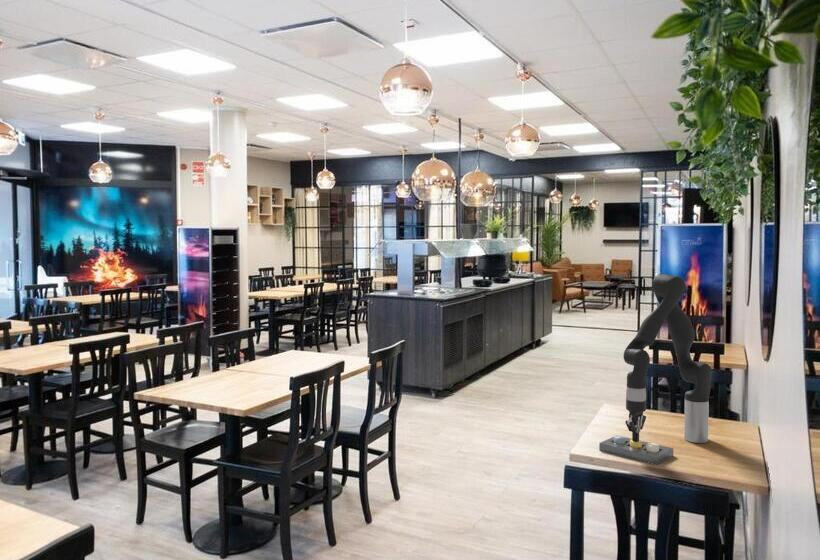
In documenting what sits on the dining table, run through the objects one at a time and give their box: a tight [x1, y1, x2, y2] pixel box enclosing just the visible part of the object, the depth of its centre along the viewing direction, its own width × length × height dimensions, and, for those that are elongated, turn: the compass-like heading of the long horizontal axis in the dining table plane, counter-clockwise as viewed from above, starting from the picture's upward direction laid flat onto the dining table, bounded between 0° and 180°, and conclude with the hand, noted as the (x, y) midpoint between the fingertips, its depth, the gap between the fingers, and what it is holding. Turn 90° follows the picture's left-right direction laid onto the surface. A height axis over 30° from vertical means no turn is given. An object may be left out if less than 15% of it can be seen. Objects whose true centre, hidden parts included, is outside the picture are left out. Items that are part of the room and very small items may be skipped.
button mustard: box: [630, 439, 643, 449], centre depth 253 cm, size 5×5×4 cm
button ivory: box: [646, 442, 660, 453], centre depth 248 cm, size 5×5×4 cm
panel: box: [598, 435, 674, 466], centre depth 253 cm, size 14×24×3 cm, turn 43°
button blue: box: [613, 435, 626, 445], centre depth 258 cm, size 5×5×4 cm
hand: (635, 441), depth 253 cm, fingers closed
